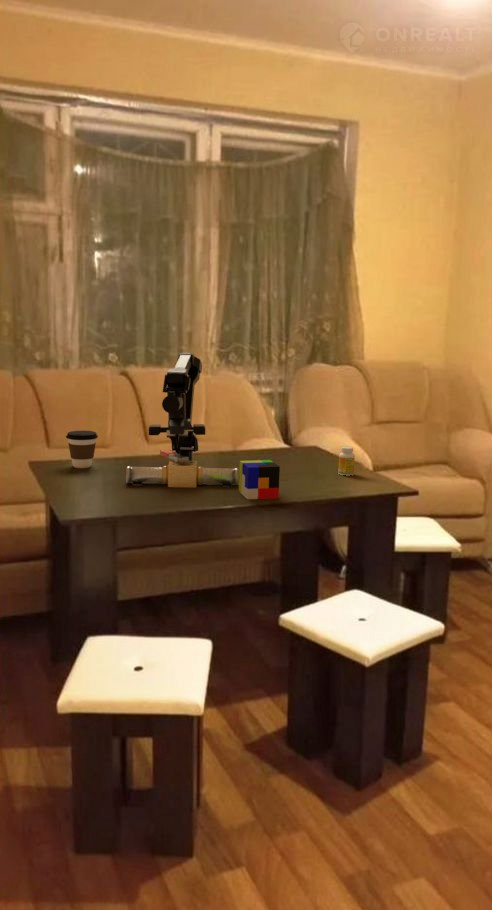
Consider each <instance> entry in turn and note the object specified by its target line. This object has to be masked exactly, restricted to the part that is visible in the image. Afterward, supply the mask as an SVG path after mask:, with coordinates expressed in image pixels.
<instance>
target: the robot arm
mask: <svg viewBox="0 0 492 910" xmlns="http://www.w3.org/2000/svg"><path fill="white" fill-rule="evenodd" d="M202 363H203V362H202V360H201V359H200V358H198V356H197V357H196V356H195V354H194V353H192V352H180V353H178V358H177V359H176V364H175V365H174V367H173V368H169V369H168V370H167V372H166V374H165V375H164V380H163V386H162V393H165V394H167V395H166V396H165V397H164V398H163V400H162V401H161V407H162V409H163V410H164V411H165V412H166V413H167V415H168V418H167V426H162V424H150V425H149V426H148V436H159V435H160V434H161V433H165V434H166V438H169V440H170V441H171V442H170V443H171V451H174V452H176V453H177V454H179V455H182V456H186V457H188V461H194V460H193V455H194V453H196V452H199V440H198V438H197V436H204V435H206V425H205V424H204V423H200V424H199V423H198V424H197V423H194V424H192V421H193V410H194V409H193V406H194V396H195V395H194V393H195V385H196V384H197V383H198V381H199V380H200V376H201V374H202V372H203V371H202V370H203V364H202ZM193 452H194V453H193Z"/></svg>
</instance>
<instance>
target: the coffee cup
mask: <svg viewBox="0 0 492 910" xmlns="http://www.w3.org/2000/svg"><path fill="white" fill-rule="evenodd" d="M66 434H67V435H66V436H65V438H66V439H67V440H68V448H69V455H70V458H71V463H72V466H73V468H76V469H88V468H91V467H92V465H93V460H94V457H95V450H96V444H97V442H96V440H97V439H98V437H99V435H98V434H97V432H96V431H92V430H71V431H68V432H67V433H66Z"/></svg>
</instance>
